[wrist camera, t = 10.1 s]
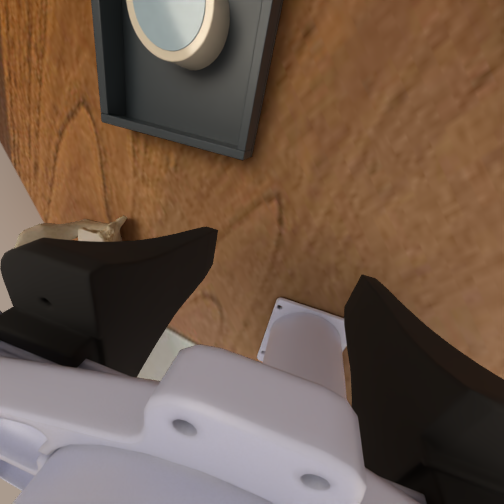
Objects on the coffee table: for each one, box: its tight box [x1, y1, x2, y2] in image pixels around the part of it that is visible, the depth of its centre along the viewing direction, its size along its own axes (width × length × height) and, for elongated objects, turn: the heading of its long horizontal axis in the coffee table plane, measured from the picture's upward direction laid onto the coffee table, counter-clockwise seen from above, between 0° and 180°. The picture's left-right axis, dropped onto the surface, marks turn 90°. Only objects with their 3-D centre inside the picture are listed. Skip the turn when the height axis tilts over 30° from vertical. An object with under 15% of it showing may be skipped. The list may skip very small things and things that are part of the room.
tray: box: [91, 0, 283, 160], centre depth 15 cm, size 14×11×2 cm
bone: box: [14, 215, 127, 248], centre depth 23 cm, size 9×6×10 cm
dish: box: [126, 0, 230, 71], centre depth 14 cm, size 5×5×3 cm
